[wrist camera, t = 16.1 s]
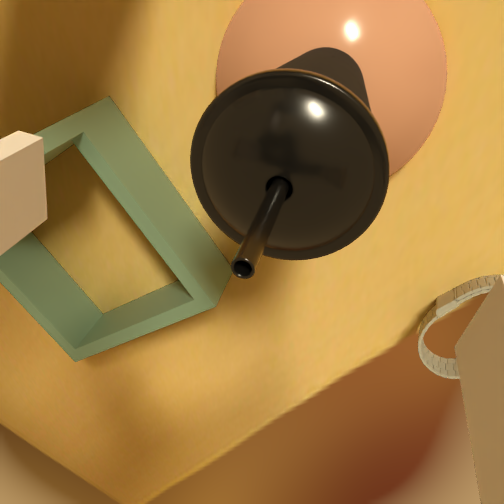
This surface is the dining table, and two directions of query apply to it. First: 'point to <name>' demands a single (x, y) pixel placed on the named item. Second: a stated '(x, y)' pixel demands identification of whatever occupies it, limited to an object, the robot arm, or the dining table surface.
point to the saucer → (359, 48)
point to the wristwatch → (441, 308)
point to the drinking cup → (291, 160)
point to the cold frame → (149, 222)
